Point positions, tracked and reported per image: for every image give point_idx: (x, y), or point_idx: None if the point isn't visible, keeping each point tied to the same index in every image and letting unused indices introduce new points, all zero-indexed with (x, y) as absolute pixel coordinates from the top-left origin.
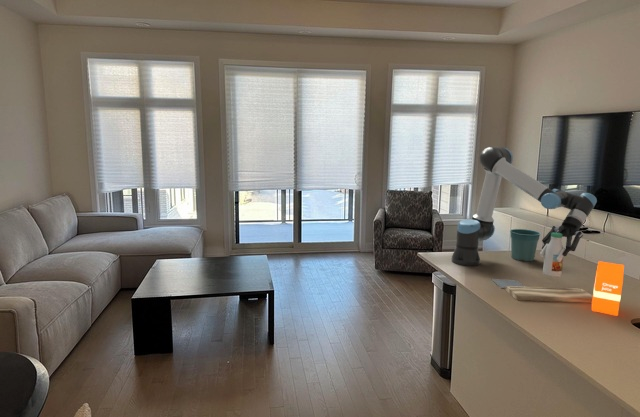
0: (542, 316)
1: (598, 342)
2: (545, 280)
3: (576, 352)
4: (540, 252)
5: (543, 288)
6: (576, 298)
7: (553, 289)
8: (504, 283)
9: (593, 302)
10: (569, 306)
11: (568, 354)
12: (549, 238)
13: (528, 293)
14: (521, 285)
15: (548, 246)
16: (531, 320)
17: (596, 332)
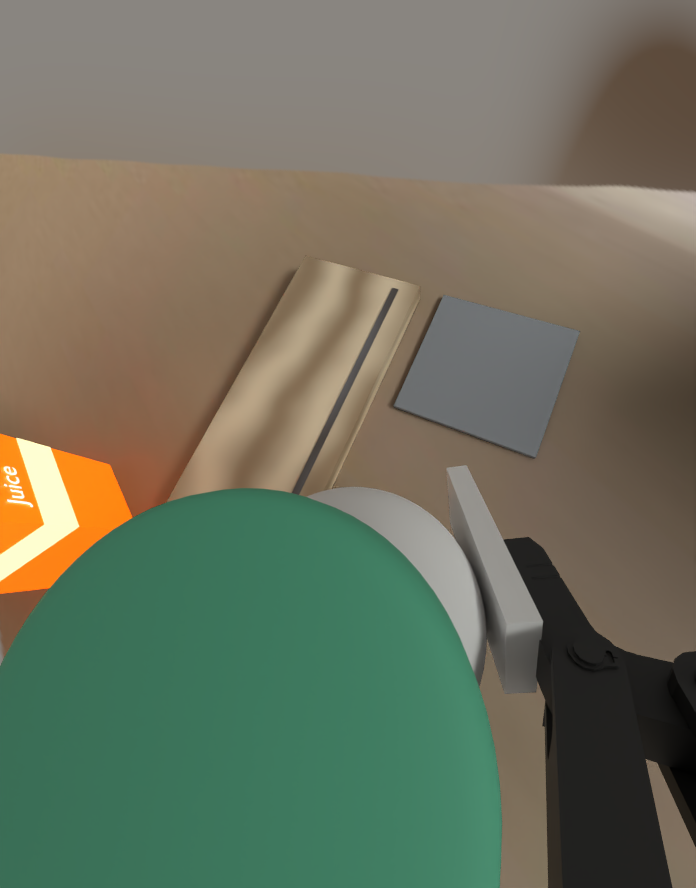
0: (174, 253)
1: (12, 270)
2: (497, 671)
3: (28, 188)
4: (469, 477)
5: (323, 434)
6: (177, 488)
7: (294, 477)
8: (494, 349)
9: (75, 457)
10: (176, 415)
11: (35, 168)
12: (654, 828)
13: (304, 313)
14: (442, 412)
15: (387, 500)
16: (174, 205)
17: (34, 314)
